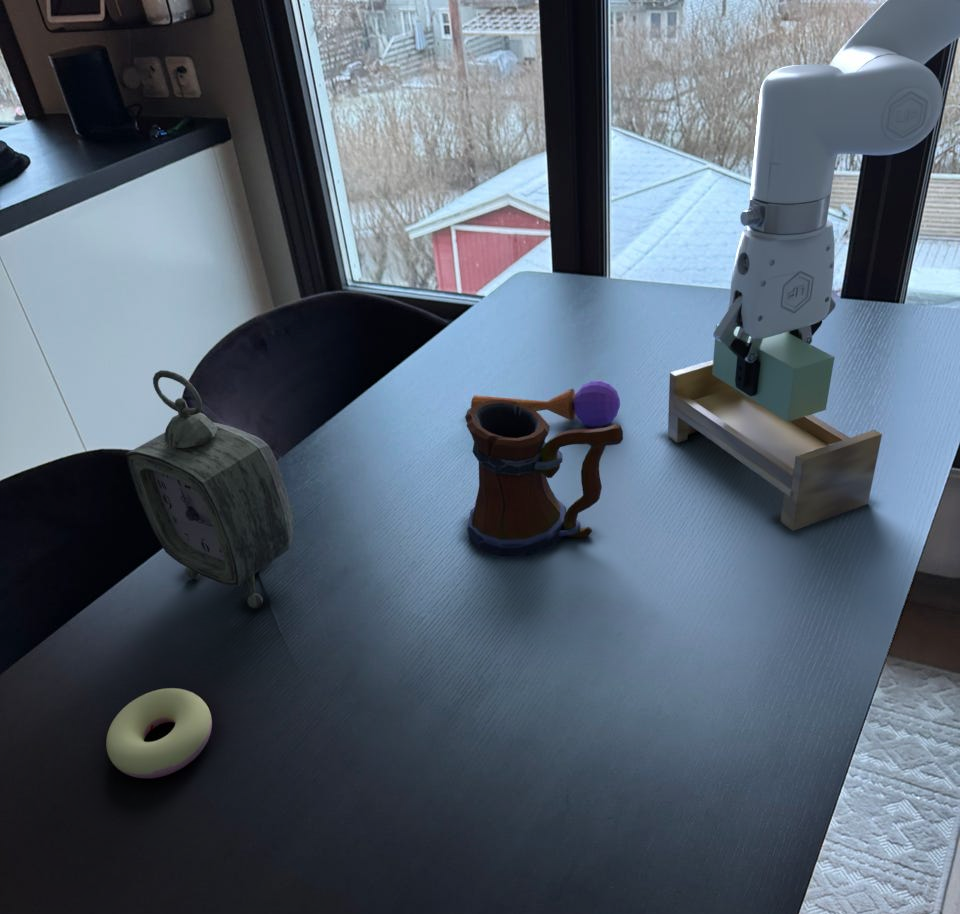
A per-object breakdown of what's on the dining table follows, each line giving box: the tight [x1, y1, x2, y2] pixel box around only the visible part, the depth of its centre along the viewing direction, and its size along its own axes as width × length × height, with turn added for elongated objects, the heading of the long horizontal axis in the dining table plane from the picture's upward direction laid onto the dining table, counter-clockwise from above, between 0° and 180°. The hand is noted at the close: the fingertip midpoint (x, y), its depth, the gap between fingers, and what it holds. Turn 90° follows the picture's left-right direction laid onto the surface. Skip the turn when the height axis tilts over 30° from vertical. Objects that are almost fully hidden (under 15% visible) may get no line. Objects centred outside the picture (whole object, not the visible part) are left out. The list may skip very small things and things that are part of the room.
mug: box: [464, 399, 624, 557], centre depth 99 cm, size 18×12×15 cm, turn 69°
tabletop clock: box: [126, 369, 295, 609], centre depth 95 cm, size 14×9×25 cm, turn 53°
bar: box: [712, 323, 835, 422], centre depth 101 cm, size 5×14×6 cm, turn 23°
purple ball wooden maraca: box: [470, 380, 621, 428], centre depth 122 cm, size 6×6×20 cm
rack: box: [667, 359, 883, 532], centre depth 106 cm, size 10×25×9 cm, turn 23°
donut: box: [105, 687, 213, 779], centre depth 84 cm, size 10×5×9 cm
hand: (767, 383), depth 102 cm, fingers closed on bar, 5 cm apart
